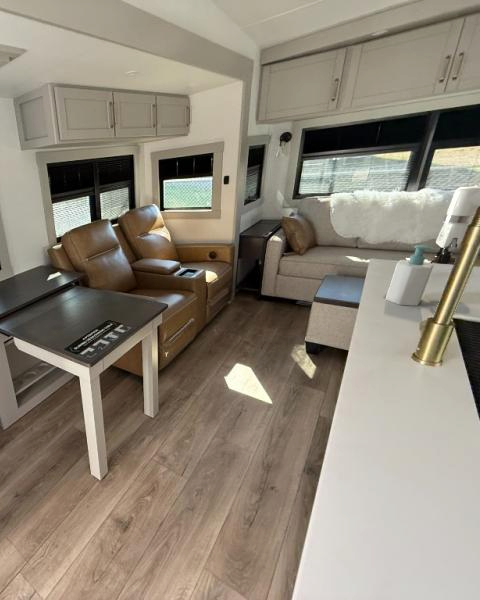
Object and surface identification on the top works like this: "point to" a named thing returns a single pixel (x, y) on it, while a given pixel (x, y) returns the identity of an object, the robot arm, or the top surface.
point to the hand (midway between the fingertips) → (441, 262)
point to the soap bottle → (410, 279)
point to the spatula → (437, 260)
